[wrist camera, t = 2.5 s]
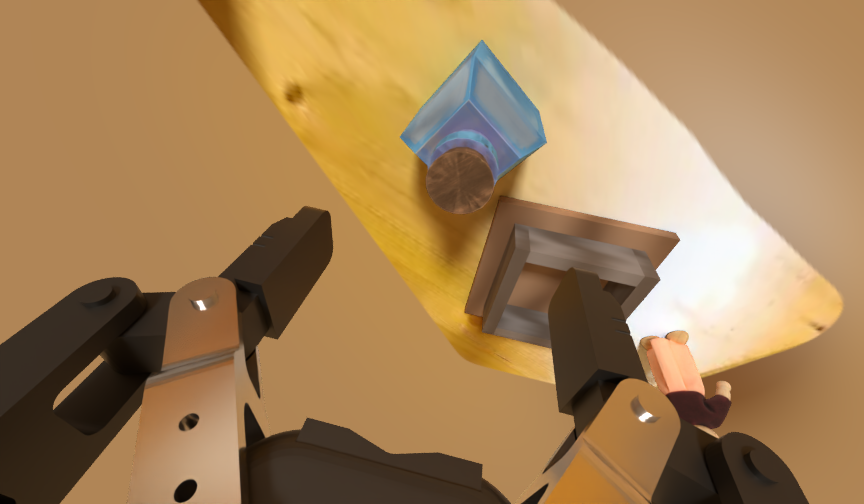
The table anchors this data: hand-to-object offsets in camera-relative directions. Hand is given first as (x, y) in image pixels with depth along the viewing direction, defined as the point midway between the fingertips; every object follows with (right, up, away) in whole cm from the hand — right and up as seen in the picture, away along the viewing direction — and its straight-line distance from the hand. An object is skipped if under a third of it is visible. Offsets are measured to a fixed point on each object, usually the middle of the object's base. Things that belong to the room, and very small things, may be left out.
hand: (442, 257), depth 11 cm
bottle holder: (+12, -2, +21) cm, 25 cm away
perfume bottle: (+3, +11, +13) cm, 17 cm away
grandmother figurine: (+25, -10, +25) cm, 36 cm away
